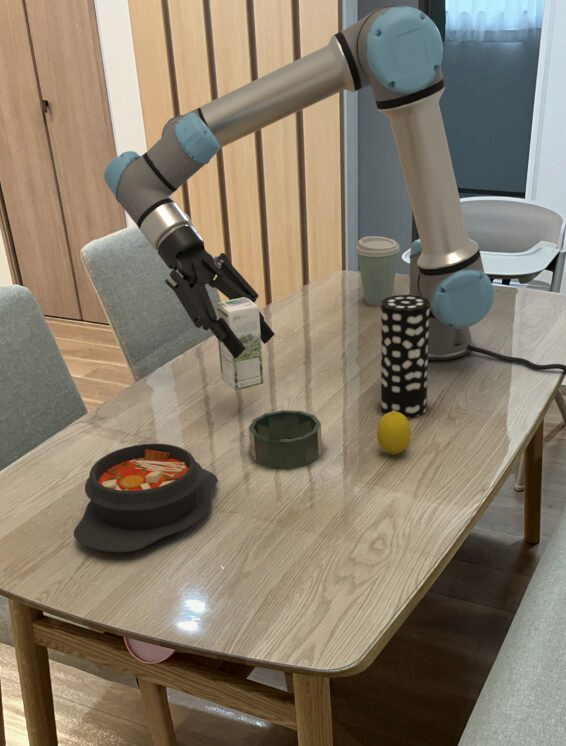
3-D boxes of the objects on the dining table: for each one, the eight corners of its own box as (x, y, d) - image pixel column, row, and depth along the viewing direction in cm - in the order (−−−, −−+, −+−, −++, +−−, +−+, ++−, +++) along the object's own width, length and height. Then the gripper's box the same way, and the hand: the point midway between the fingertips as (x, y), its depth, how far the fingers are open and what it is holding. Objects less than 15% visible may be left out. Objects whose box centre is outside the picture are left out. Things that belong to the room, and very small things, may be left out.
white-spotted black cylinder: (432, 403, 154) (436, 297, 143) (417, 421, 148) (420, 312, 137) (390, 396, 157) (391, 292, 147) (374, 414, 151) (373, 307, 140)
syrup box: (250, 373, 151) (243, 295, 143) (264, 384, 146) (259, 304, 138) (221, 380, 148) (213, 301, 140) (235, 392, 144) (227, 310, 136)
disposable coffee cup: (405, 297, 207) (406, 236, 199) (390, 311, 199) (390, 247, 191) (366, 293, 211) (365, 233, 203) (349, 306, 203) (348, 244, 195)
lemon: (387, 465, 134) (388, 421, 130) (371, 452, 139) (370, 408, 134) (416, 457, 136) (417, 413, 132) (399, 444, 141) (399, 401, 136)
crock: (326, 438, 143) (325, 411, 141) (314, 470, 134) (312, 443, 131) (261, 434, 145) (259, 408, 142) (244, 466, 135) (241, 439, 133)
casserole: (148, 466, 136) (141, 420, 132) (246, 488, 130) (242, 440, 125) (45, 546, 117) (31, 495, 113) (153, 576, 110) (144, 523, 106)
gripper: (203, 238, 150) (279, 340, 151) (121, 266, 136) (205, 377, 137) (222, 211, 145) (301, 316, 146) (139, 237, 131) (227, 353, 132)
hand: (255, 346), depth 141 cm, fingers closed on syrup box, 7 cm apart
